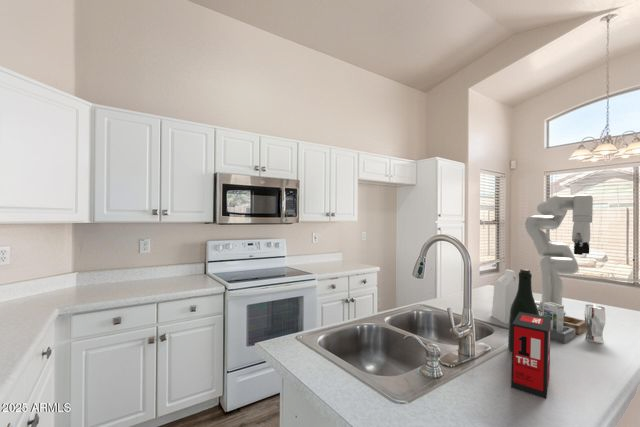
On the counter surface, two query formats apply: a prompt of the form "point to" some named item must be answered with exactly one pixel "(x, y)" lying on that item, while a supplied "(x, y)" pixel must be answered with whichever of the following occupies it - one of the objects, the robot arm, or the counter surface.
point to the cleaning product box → (531, 354)
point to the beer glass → (595, 322)
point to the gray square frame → (563, 335)
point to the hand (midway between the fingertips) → (581, 253)
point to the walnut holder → (575, 324)
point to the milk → (504, 295)
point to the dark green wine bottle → (522, 301)
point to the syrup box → (554, 315)
